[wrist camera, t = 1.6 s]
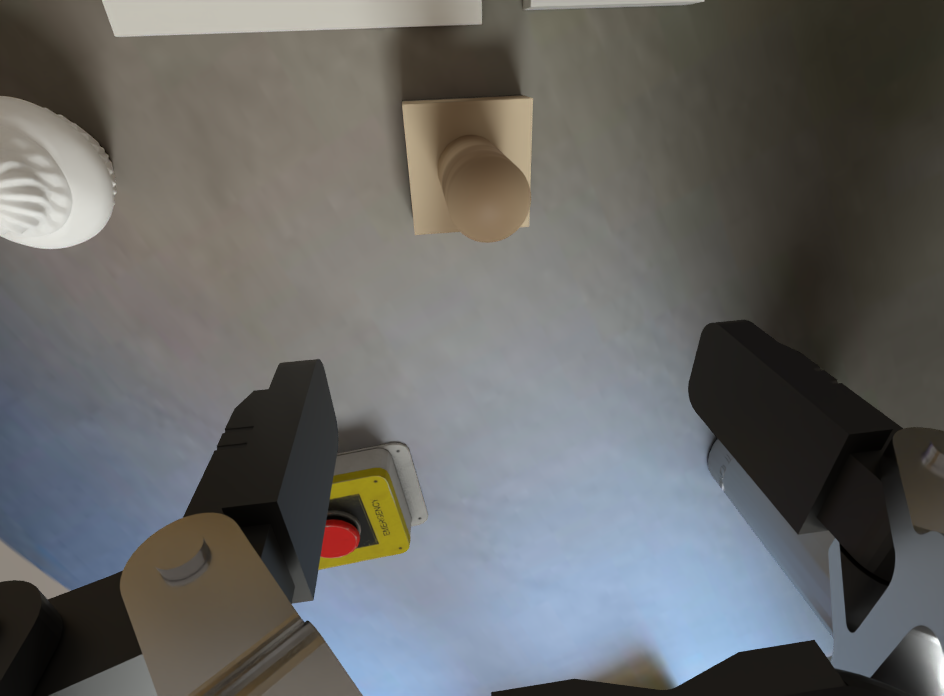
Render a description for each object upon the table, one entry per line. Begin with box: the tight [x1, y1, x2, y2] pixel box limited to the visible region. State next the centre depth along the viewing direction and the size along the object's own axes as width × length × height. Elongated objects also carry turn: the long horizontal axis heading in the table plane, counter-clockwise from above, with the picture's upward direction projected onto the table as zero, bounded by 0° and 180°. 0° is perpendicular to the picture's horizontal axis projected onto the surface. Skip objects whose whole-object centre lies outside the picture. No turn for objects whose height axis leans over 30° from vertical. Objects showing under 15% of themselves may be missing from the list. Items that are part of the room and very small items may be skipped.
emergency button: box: [318, 443, 428, 570], centre depth 36 cm, size 9×4×15 cm
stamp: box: [402, 95, 533, 242], centre depth 22 cm, size 6×6×9 cm
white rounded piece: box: [0, 96, 117, 249], centre depth 20 cm, size 6×6×7 cm
